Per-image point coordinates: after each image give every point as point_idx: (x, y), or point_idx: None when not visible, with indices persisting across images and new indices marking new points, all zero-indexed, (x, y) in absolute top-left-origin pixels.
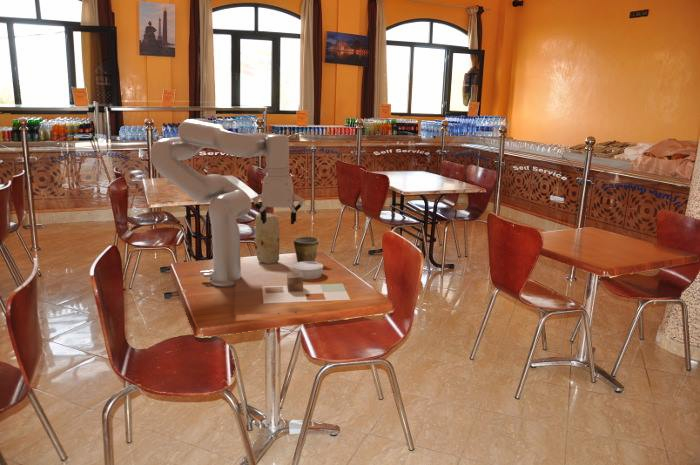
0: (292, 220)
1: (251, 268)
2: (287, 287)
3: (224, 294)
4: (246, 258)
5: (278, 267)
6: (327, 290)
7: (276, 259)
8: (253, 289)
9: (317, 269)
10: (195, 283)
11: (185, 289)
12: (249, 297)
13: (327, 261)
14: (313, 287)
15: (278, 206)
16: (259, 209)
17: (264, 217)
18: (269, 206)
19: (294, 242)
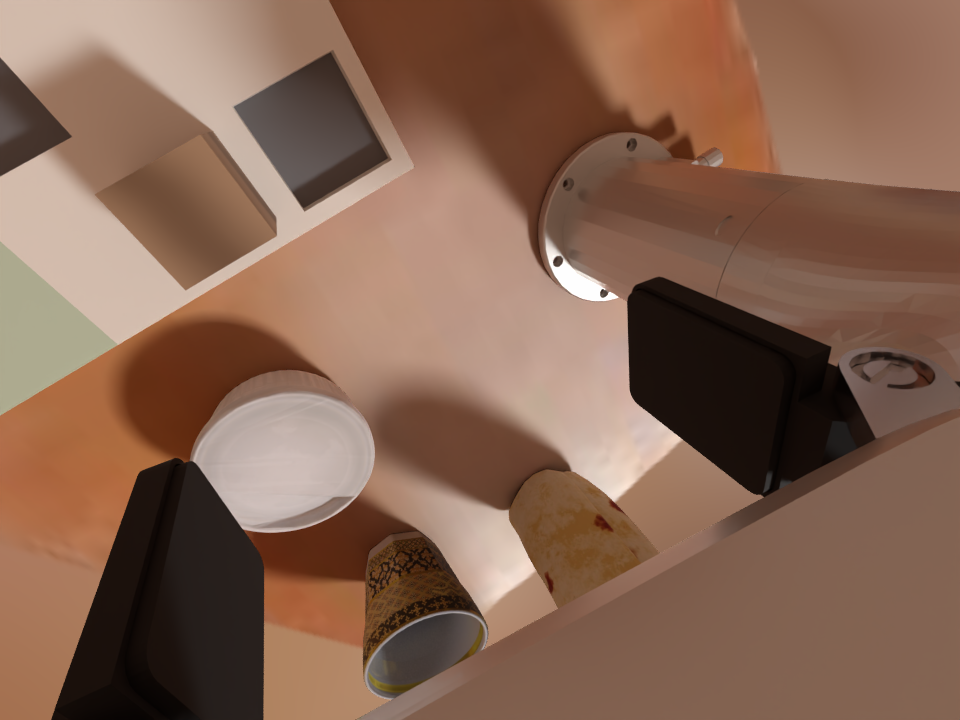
0: (132, 517)
1: (573, 404)
2: (260, 196)
3: (559, 27)
4: (624, 477)
5: (482, 468)
6: None
7: (515, 508)
8: (457, 164)
9: (194, 447)
10: (717, 137)
11: (737, 37)
12: (419, 23)
13: (333, 622)
14: (115, 279)
15: (574, 634)
16: (920, 386)
17: (700, 323)
18: (880, 453)
19: (469, 605)
